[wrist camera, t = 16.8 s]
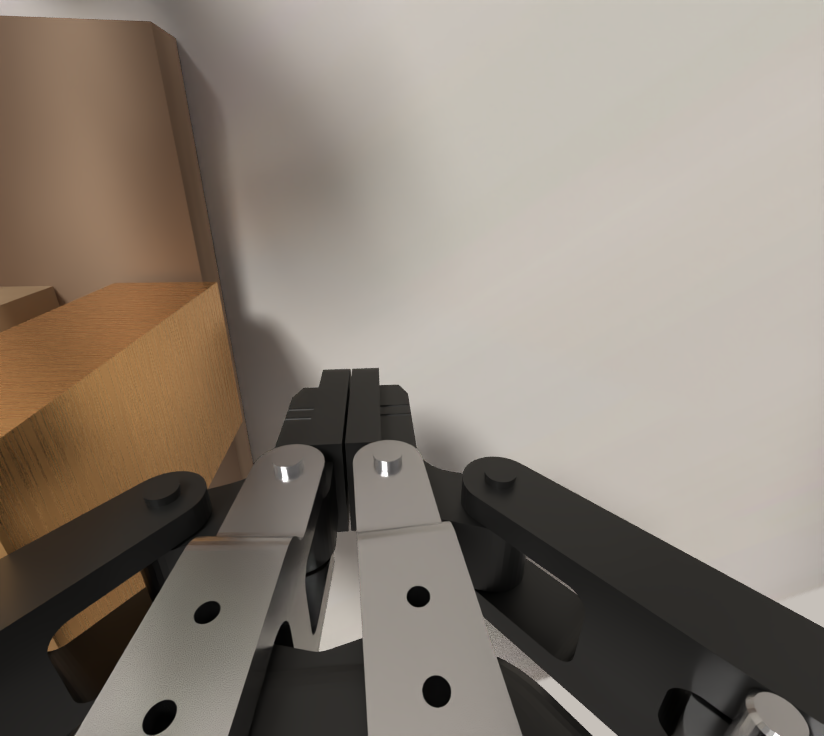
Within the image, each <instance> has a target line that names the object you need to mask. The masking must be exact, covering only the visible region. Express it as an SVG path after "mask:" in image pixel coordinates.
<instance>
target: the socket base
mask: <svg viewBox="0 0 824 736" xmlns="http://www.w3.org/2000/svg"><path fill="white" fill-rule="evenodd" d="M158 282H217V284H218V289H219V294H220V300H221V305H222V311H223V316H224V321H225V327H226V332H227V338H228V343H229V348H230V354H231V359H232V365H233V370H234V375H235V381H236V386H237V392H238V397H239V403H240V408H241V413H242V419H243V422H242V424H241V425H240V427H239V429H238V431H237V433H236V435H235V437H234V439H233V441H232V443H231V445H230V447H229V449H228V451H227V453H226V455H225V457H224V458H223V460H222V462H221V464H220V466H219V468H218V470H217V472H216V474H215V476H214V478H213V480H212V482H211V484H210V486H209V488H208V489H211V488H215V487H219V486H222V485H226V484H230V483H234V482H237V481H240V480H243V479H245V478H247V476H248V474H249V472H250V470H251V468H252V466H253V461H252V455H251V450H250V444H249V439H248V433H247V428H246V422H245V417H244V411H243V406H242V400H241V395H240V389H239V384H238V378H237V373H236V367H235V362H234V356H233V351H232V345H231V340H230V334H229V329H228V323H227V318H226V312H225V307H224V301H223V296H222V290H221V285H220V279H219V274H218V268H217V263H216V257H215V252H214V246H213V241H212V235H211V230H210V224H209V219H208V213H207V208H206V202H205V197H204V191H203V186H202V180H201V175H200V169H199V164H198V159H197V153H196V148H195V142H194V137H193V131H192V126H191V120H190V115H189V109H188V104H187V98H186V93H185V87H184V82H183V76H182V71H181V65H180V60H179V54H178V49H177V43H176V38H174V37H173V36H171V35H170V34H168V33H167V32H165V31H164V30H162V29H161V28H160V27H158V26H157V25H155V24H154V23H152V22H149V21H123V20H98V19H72V18H46V17H21V16H0V333H1V332H3V331H5V330H8V329H10V328H12V327H14V326H17V325H19V324H21V323H24V322H26V321H28V320H30V319H33V318H35V317H37V316H40V315H42V314H44V313H46V312H49V311H51V310H53V309H56V308H58V307H60V306H63V305H65V304H67V303H69V302H72V301H74V300H76V299H79V298H81V297H83V296H85V295H88V294H90V293H92V292H95V291H97V290H99V289H102V288H104V287H106V286H108V285H111V284H113V283H158Z"/></svg>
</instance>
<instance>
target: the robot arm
mask: <svg viewBox="0 0 824 736" xmlns="http://www.w3.org/2000/svg"><path fill="white" fill-rule="evenodd" d="M349 515H350V517H351V531H356V530H357V548H358V565H359V583H360V601H361V618H362V636H363V638H361V639H359V640H356V641H353V642H350V643H347V644H344V645H341V646H338V647H335V648H333V649H330V650H326V651H321V652H319V646H320V640H321V635H322V629H323V624H324V618H325V613H326V607H327V602H328V597H329V591H330V586H331V580H332V575H333V569H334V563H335V559H334V550H335V546H336V538H337V532H343V531H349ZM526 556H527V557H529V558H530V559H532V560H533V561H535V562H536V563H537V564H539V565H540V566H542V567H543V568H545V569H546V570H547V571H549V572H550V573H552V574H553V575H555V576H556V577H557V578H559V579H560V580H562V581H563V582H564V583H566V584H567V585H569V586H570V587H571V588H572V589H573V590H574V591H575V592H576V593H577V594H575V593H574V592H572V591H571V590H570V589H568V588H567V587H565V586H564V585H562V584H561V583H560V582H558V581H557V580H555V579H554V578H553V577H551V576H550V575H548V574H547V573H546V572H544V571H543V570H541V569H540V568H538V567H537V566H536V565H534V564H533V563H531V562H530V561H529V560H527V559H526ZM138 572H141V575H142V578H143V580H144V583H145V586H146V587H145V588H143V589H142V590H141V591H139V592H138V593H136V594H135V595H134V596H132V597H131V598H130V599H128V600H127V601H125V602H124V603H123V604H121V605H120V606H119V607H117V608H116V609H114V610H113V611H112V612H110V613H109V614H108V615H106V616H105V617H103V618H102V619H101V620H99V621H98V622H97V623H95V624H94V625H92V626H91V627H90V628H88V629H87V630H85V631H84V632H83V633H81V634H80V635H79V636H77V637H76V638H74V639H73V640H72V641H70V642H69V643H67V644H66V645H64V646H62V647H61V648H58V649H56V650H53V651H48V646H49V644H50V641H51V639H52V638H53V636H54V635H55V633H56V632H57V631H58V630H59V629H60V628H61V627H62V626H63V625H64V624H65V623H66V622H68V621H69V620H70V619H72V618H73V617H74V616H76V615H77V614H79V613H80V612H82V611H83V610H85V609H86V608H87V607H89V606H90V605H92V604H93V603H95V602H96V601H98V600H99V599H100V598H102V597H103V596H105V595H106V594H108V593H109V592H111V591H112V590H114V589H115V588H116V587H118V586H119V585H121V584H122V583H124V582H125V581H127V580H128V579H129V578H131V577H132V576H134V575H135V574H137V573H138ZM483 617H484V618H485V619H486V620H488V621H489V622H490V623H491V624H492V625H493V626H494V627H496V628H497V629H498V630H499V631H500V632H501V633H502V634H503V635H505V636H506V637H507V638H508V639H509V640H510V641H511V642H513V643H514V644H515V645H516V646H517V647H518V648H519V649H520V650H522V651H523V652H524V653H525V654H526V655H527V656H528V657H530V658H531V659H532V660H533V661H534V662H535V663H536V664H537V665H539V666H540V667H541V668H542V669H543V670H544V671H545V672H547V673H548V674H549V675H550V676H551V677H552V678H553V679H554V680H556V681H557V682H558V683H559V684H560V685H561V686H562V687H563V688H565V689H566V690H567V691H568V692H570V693H571V695H573V696H574V697H575V698H576V699H577V700H578V701H579V702H580V703H582V704H583V705H584V706H585V707H586V708H587V709H588V710H590V711H591V712H592V713H593V714H594V715H595V716H596V717H597V718H599V719H600V720H601V721H602V722H603V723H604V724H605V725H607V726H608V727H609V728H610V729H611V730H612V731H613V732H614V733H616V734H617V735H618V736H824V628H823V627H821V626H820V625H818V624H816V623H814V622H812V621H810V620H809V619H807V618H805V617H803V616H801V615H799V614H797V613H795V612H794V611H792V610H790V609H788V608H786V607H784V606H782V605H781V604H779V603H777V602H775V601H773V600H772V599H770V598H768V597H766V596H764V595H762V594H761V593H759V592H757V591H755V590H753V589H751V588H749V587H748V586H746V585H744V584H742V583H740V582H738V581H737V580H735V579H733V578H731V577H729V576H727V575H725V574H724V573H722V572H720V571H718V570H716V569H714V568H713V567H711V566H709V565H707V564H705V563H703V562H701V561H700V560H698V559H696V558H694V557H692V556H690V555H689V554H687V553H685V552H683V551H681V550H679V549H677V548H676V547H674V546H672V545H670V544H668V543H666V542H665V541H663V540H661V539H659V538H657V537H655V536H653V535H652V534H650V533H648V532H646V531H644V530H642V529H640V528H639V527H637V526H635V525H633V524H631V523H629V522H628V521H626V520H624V519H622V518H620V517H618V516H616V515H615V514H613V513H611V512H609V511H607V510H605V509H604V508H602V507H600V506H598V505H596V504H594V503H592V502H591V501H589V500H587V499H585V498H583V497H581V496H580V495H578V494H576V493H574V492H572V491H570V490H568V489H567V488H565V487H563V486H561V485H559V484H557V483H556V482H554V481H552V480H550V479H548V478H546V477H544V476H543V475H541V474H539V473H537V472H535V471H533V470H532V469H530V468H528V467H526V466H524V465H522V464H520V463H518V462H516V461H514V460H511V459H507V458H502V457H484V458H480V459H477V460H474V461H473V462H471V463H470V464H468V465H467V466H466V468H465V469H464V471H463V474H461V473H455V472H449V471H445V470H441V469H438V468H436V467H433V466H431V465H430V464H428V463H426V462H425V461H424V460H423V458H422V456H421V453H420V452H419V451H418V450H417V448H416V441H415V435H414V429H413V423H412V417H411V411H410V405H409V398H408V393H407V392H406V391H405V390H404V389H403V388H401V387H400V386H399V385H379V368H364V369H352V377H351V370H350V369H334V370H323V372H322V377H321V381H320V385H319V388H303V389H302V390H301V391H300V392H299V393H298V394H296V395H295V396H294V397H293V398H292V401H291V403H290V406H289V411H288V412H287V415H286V418H285V421H284V423H283V426H282V429H281V432H280V435H279V438H278V441H277V444H276V446H275V448H274V449H272V450H270V451H268V452H266V453H265V454H263V455H262V456H260V457H259V458H258V459H257V460H256V461H255V463H254V464H253V466H252V468H251V470H250V472H249V474H248V476H247V478H245V479H243V480H240V481H237V482H234V483H230V484H226V485H222V486H219V487H215V488H211V489H207V485H206V481H205V479H204V478H203V477H202V476H201V475H199V474H197V473H194V472H189V471H176V472H169V473H164V474H161V475H158V476H155V477H152V478H150V479H148V480H146V481H144V482H142V483H140V484H138V485H136V486H134V487H133V488H131V489H129V490H127V491H125V492H123V493H121V494H120V495H118V496H116V497H114V498H112V499H110V500H108V501H107V502H105V503H103V504H101V505H99V506H97V507H95V508H94V509H92V510H90V511H88V512H86V513H84V514H82V515H81V516H79V517H77V518H75V519H73V520H71V521H69V522H68V523H66V524H64V525H62V526H60V527H58V528H56V529H55V530H53V531H51V532H49V533H47V534H45V535H43V536H42V537H40V538H38V539H36V540H34V541H32V542H30V543H29V544H27V545H25V546H23V547H21V548H19V549H17V550H16V551H14V552H12V553H10V554H8V555H6V556H4V557H3V558H1V559H0V736H592V735H591V734H590V733H589V732H588V731H587V730H586V729H585V728H584V727H583V726H582V725H581V724H580V723H579V722H578V721H577V720H576V719H574V717H573V716H571V714H570V713H568V712H567V711H566V710H565V709H564V708H563V707H562V706H561V705H560V704H559V703H558V702H557V701H556V700H555V699H554V698H553V697H552V696H551V695H550V694H549V693H548V692H547V691H546V690H545V689H543V688H542V687H541V686H540V685H539V684H538V683H537V682H536V681H534V680H533V679H532V678H530V677H529V676H528V675H526V674H525V673H524V672H523V671H521V670H520V669H518V668H517V667H515V666H513V665H512V664H510V663H508V662H507V661H505V660H503V659H501V658H499V657H497V656H496V654H495V651H494V648H493V645H492V642H491V639H490V636H489V633H488V630H487V627H486V624H485V621H484V618H483Z"/></svg>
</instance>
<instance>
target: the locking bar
mask: <svg viewBox="0 0 824 736" xmlns="http://www.w3.org/2000/svg"><path fill="white" fill-rule="evenodd" d="M242 422H243V419H242V413H241V408H240V403H239V397H238V392H237V386H236V381H235V375H234V370H233V365H232V359H231V354H230V348H229V343H228V338H227V332H226V327H225V321H224V316H223V311H222V305H221V300H220V294H219V289H218V284H217V282H158V283H113V284H111V285H108V286H106V287H104V288H102V289H99V290H97V291H95V292H92V293H90V294H88V295H85V296H83V297H81V298H79V299H76V300H74V301H72V302H69V303H67V304H65V305H63V306H60V307H58V308H56V309H53V310H51V311H49V312H46V313H44V314H42V315H40V316H37V317H35V318H33V319H30V320H28V321H26V322H24V323H21V324H19V325H17V326H14V327H12V328H10V329H8V330H5V331H3V332H1V333H0V559H1V558H3V557H4V556H6V555H8V554H10V553H12V552H14V551H16V550H17V549H19V548H21V547H23V546H25V545H27V544H29V543H30V542H32V541H34V540H36V539H38V538H40V537H42V536H43V535H45V534H47V533H49V532H51V531H53V530H55V529H56V528H58V527H60V526H62V525H64V524H66V523H68V522H69V521H71V520H73V519H75V518H77V517H79V516H81V515H82V514H84V513H86V512H88V511H90V510H92V509H94V508H95V507H97V506H99V505H101V504H103V503H105V502H107V501H108V500H110V499H112V498H114V497H116V496H118V495H120V494H121V493H123V492H125V491H127V490H129V489H131V488H133V487H134V486H136V485H138V484H140V483H142V482H144V481H146V480H148V479H150V478H152V477H155V476H158V475H161V474H164V473H169V472H176V471H189V472H194V473H197V474H199V475H201V476H202V477H203V478H204V479H205V481H206V485H207V489H208V488H209V486H210V484H211V482H212V480H213V478H214V476H215V474H216V472H217V470H218V468H219V466H220V464H221V462H222V460H223V458H224V457H225V455H226V453H227V451H228V449H229V447H230V445H231V443H232V441H233V439H234V437H235V435H236V433H237V431H238V429H239V427H240V425H241V424H242ZM145 587H146V586H145V583H144V580H143V578H142V575H141V572H138V573H137V574H135V575H134V576H132V577H131V578H129V579H128V580H127V581H125V582H124V583H122V584H121V585H119V586H118V587H116V588H115V589H114V590H112V591H111V592H109V593H108V594H106V595H105V596H103V597H102V598H100V599H99V600H98V601H96V602H95V603H93V604H92V605H90V606H89V607H87V608H86V609H85V610H83V611H82V612H80V613H79V614H77V615H76V616H74V617H73V618H72V619H70V620H69V621H68V622H66V623H65V624H64V625H63V626H62V627H61V628H60V629H59V630H58V631H57V632H56V633H55V635H54V636H53V638H52V639H51V641H50V644H49V646H48V651H53V650H56V649H58V648H61V647H62V646H64V645H66V644H67V643H69V642H70V641H72V640H73V639H74V638H76V637H77V636H79V635H80V634H81V633H83V632H84V631H85V630H87V629H88V628H90V627H91V626H92V625H94V624H95V623H97V622H98V621H99V620H101V619H102V618H103V617H105V616H106V615H108V614H109V613H110V612H112V611H113V610H114V609H116V608H117V607H119V606H120V605H121V604H123V603H124V602H125V601H127V600H128V599H130V598H131V597H132V596H134V595H135V594H136V593H138V592H139V591H141V590H142V589H143V588H145Z"/></svg>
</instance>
